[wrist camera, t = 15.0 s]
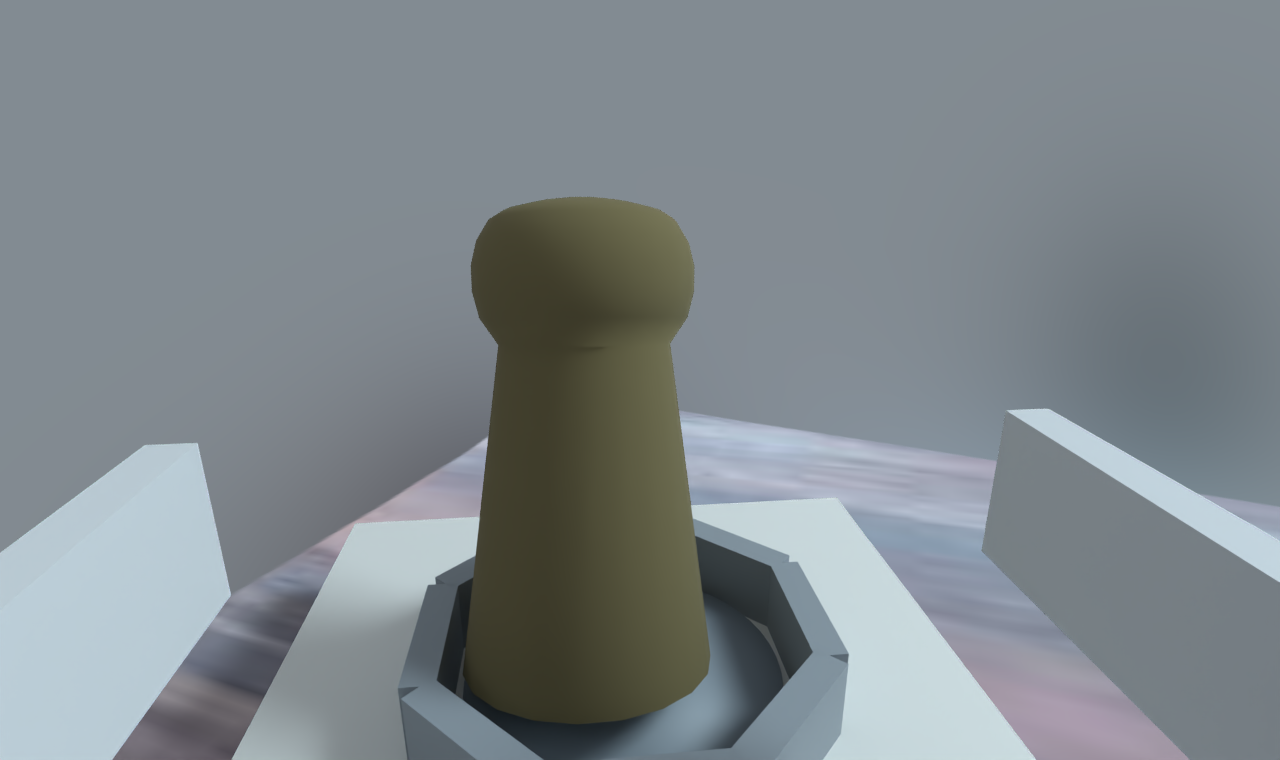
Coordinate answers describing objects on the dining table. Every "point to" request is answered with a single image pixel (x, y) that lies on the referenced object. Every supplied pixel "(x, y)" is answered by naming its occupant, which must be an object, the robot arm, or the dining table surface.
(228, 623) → the dining table surface
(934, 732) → the base plate
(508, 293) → the cork
